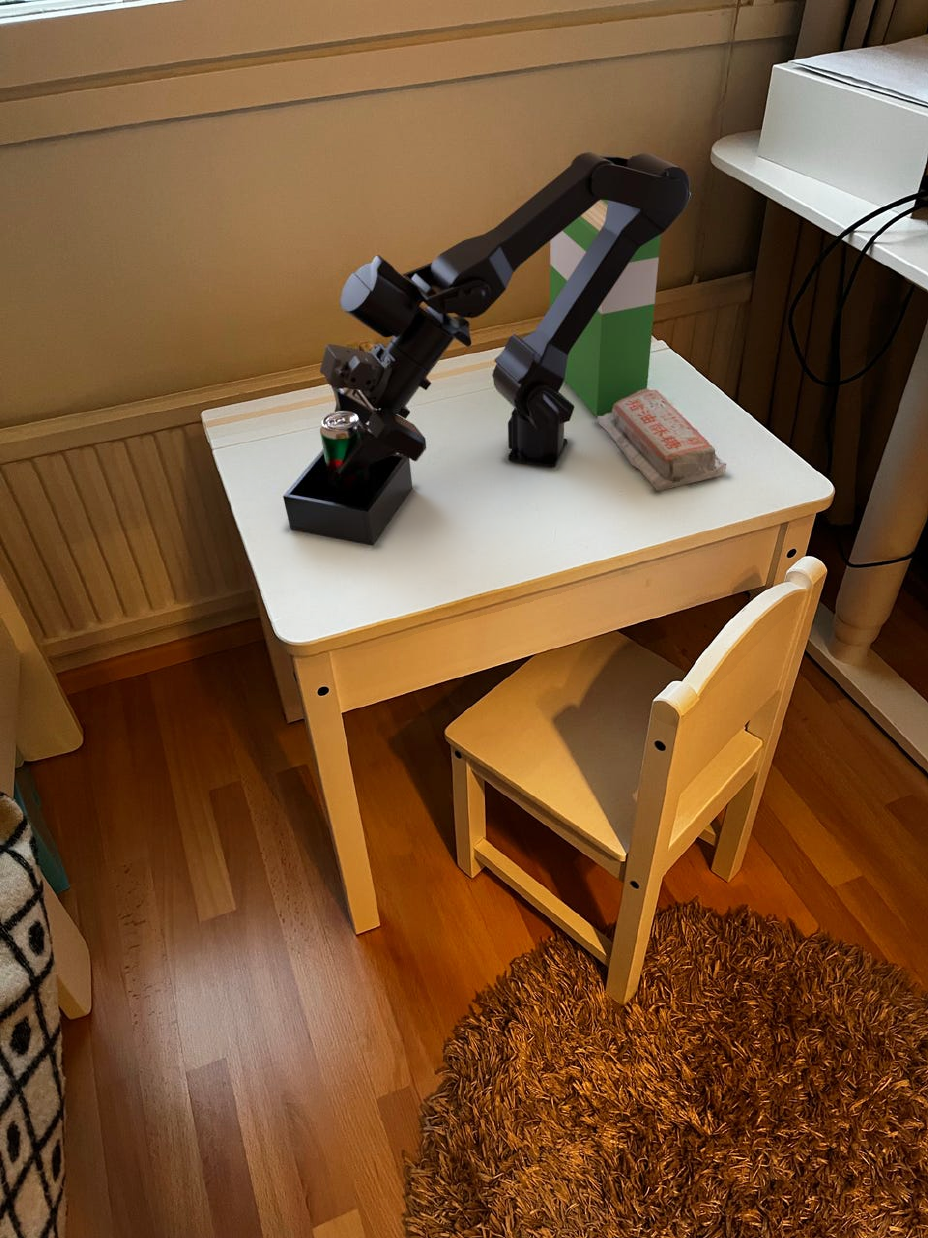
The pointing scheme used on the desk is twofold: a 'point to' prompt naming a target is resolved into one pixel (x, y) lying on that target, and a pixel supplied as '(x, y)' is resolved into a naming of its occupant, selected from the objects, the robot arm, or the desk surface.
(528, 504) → the desk surface
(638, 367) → the hardback book
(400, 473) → the open black square box
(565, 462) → the desk surface
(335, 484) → the soda can
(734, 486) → the desk surface
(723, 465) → the packaged product
